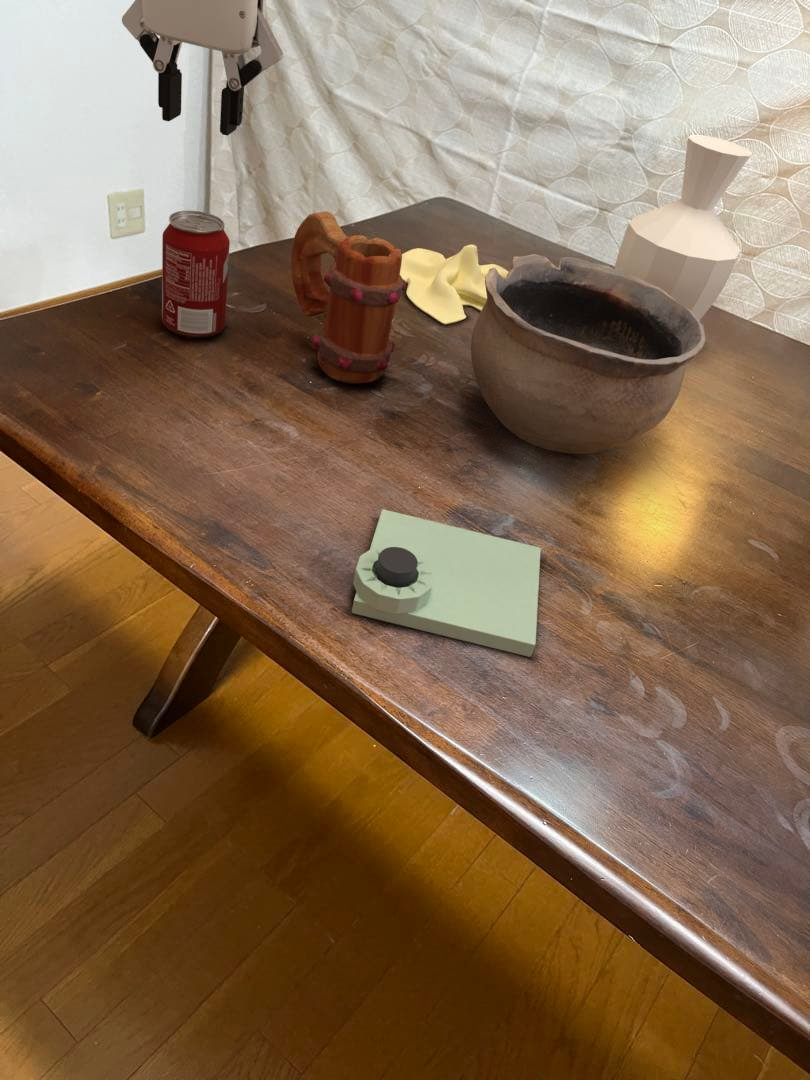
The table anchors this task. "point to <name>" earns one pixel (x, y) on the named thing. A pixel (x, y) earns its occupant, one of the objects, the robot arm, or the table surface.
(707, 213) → the vase
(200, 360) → the table surface
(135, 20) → the robot arm
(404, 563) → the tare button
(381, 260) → the mug
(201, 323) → the soda can
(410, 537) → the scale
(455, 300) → the cloth
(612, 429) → the ceramic bowl
